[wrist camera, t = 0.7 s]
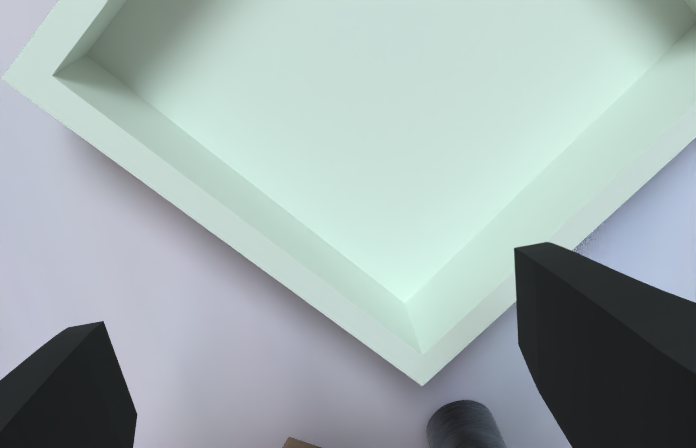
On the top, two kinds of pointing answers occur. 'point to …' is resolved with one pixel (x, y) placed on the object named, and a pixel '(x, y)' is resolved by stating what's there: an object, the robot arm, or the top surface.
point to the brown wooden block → (297, 444)
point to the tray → (379, 136)
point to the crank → (464, 427)
